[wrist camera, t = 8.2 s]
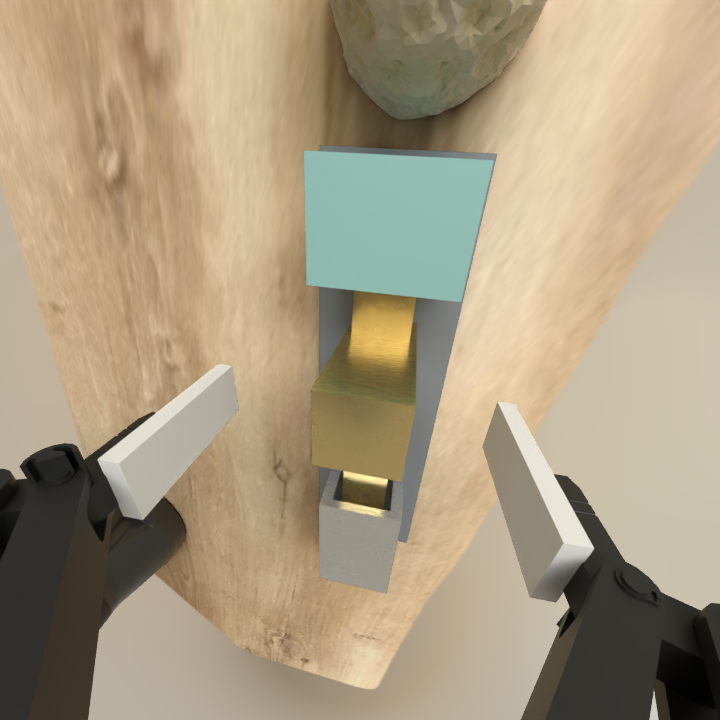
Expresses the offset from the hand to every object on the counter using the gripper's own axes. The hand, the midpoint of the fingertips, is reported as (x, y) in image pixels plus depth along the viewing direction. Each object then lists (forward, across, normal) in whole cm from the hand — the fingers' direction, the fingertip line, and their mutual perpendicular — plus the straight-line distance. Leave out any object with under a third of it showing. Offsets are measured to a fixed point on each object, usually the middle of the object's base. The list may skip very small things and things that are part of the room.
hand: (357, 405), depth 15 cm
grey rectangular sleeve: (+7, +1, -15) cm, 16 cm away
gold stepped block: (+6, +1, -1) cm, 6 cm away
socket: (+7, +1, +8) cm, 11 cm away
